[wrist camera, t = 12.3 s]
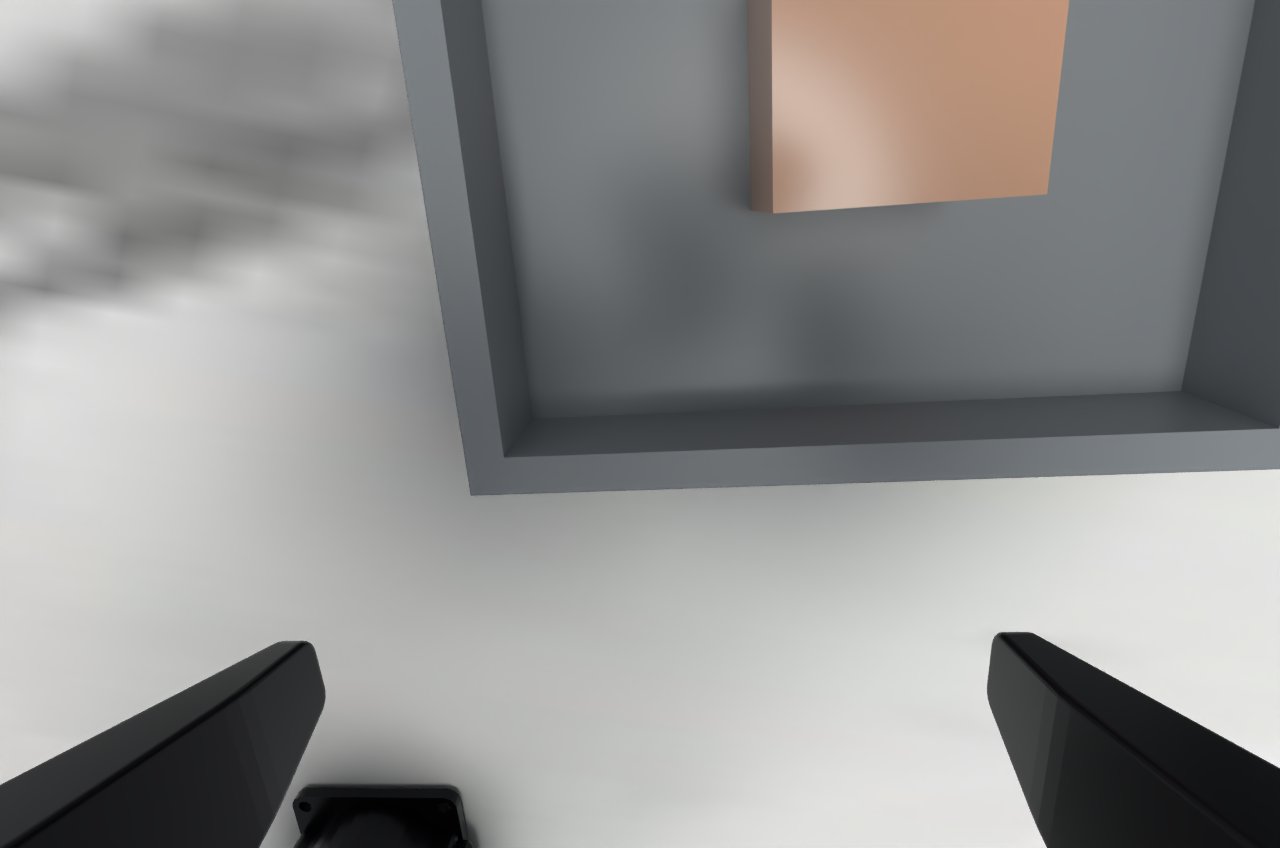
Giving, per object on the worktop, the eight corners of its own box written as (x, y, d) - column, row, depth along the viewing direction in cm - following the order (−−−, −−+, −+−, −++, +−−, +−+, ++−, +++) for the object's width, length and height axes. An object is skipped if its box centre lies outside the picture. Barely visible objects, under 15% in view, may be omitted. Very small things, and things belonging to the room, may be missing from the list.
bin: (510, 442, 21) (471, 495, 17) (411, -293, 15) (320, -456, 12) (1192, 415, 19) (1316, 467, 15) (1358, -427, 14) (1617, -671, 10)
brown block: (750, 210, 18) (773, 213, 13) (746, -8, 16) (770, -97, 11) (948, 196, 17) (1047, 194, 12) (964, -30, 16) (1084, -133, 11)
